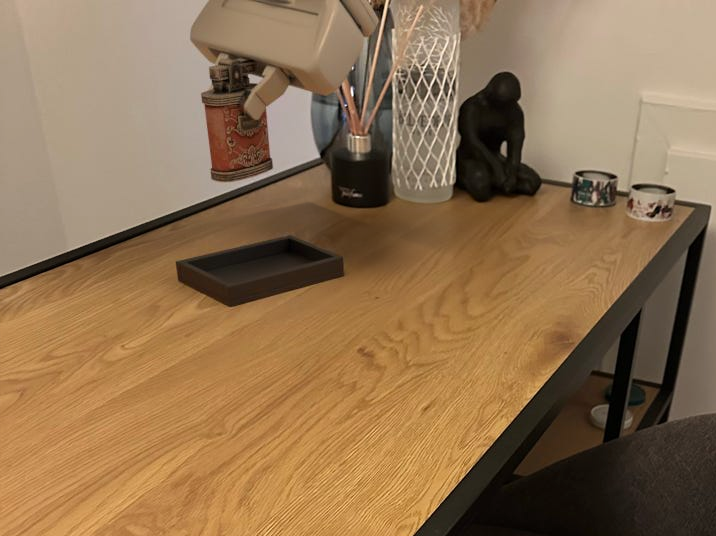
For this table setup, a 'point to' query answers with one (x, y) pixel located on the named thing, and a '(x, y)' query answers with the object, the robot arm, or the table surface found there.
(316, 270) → the dark serving tray
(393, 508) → the table surface
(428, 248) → the table surface
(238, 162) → the lighter
